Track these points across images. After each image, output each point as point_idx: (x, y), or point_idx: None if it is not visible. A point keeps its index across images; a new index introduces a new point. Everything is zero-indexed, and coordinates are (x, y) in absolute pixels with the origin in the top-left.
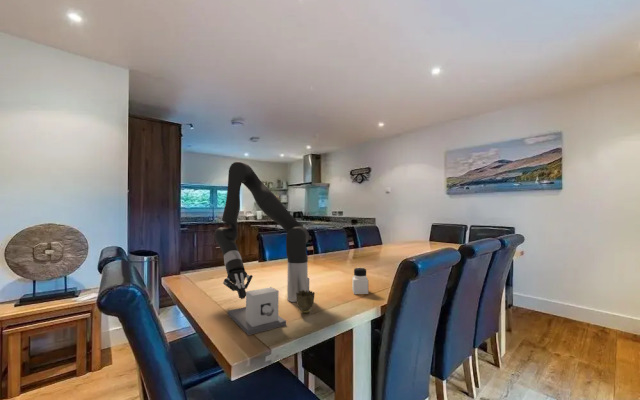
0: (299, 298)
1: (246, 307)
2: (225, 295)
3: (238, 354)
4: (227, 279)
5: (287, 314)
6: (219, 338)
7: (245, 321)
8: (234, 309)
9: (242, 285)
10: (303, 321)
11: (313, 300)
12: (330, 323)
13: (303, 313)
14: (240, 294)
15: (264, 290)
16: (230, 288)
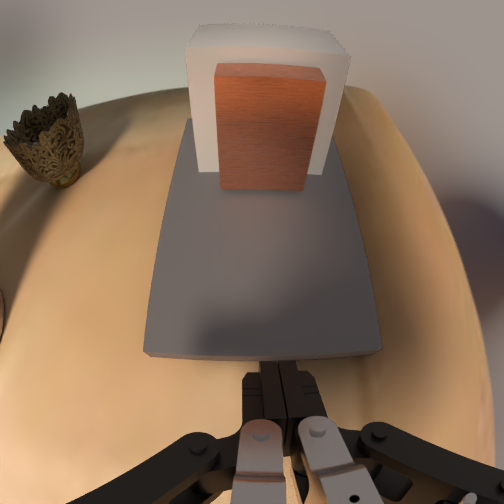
0: (76, 114)
1: (333, 121)
2: None
3: (359, 97)
4: (491, 496)
5: (117, 193)
6: (405, 163)
7: (323, 173)
8: (340, 350)
9: (272, 445)
10: (130, 130)
11: (44, 125)
12: (99, 105)
13: (80, 168)
14: (306, 381)
15: (252, 34)
16: (398, 475)
